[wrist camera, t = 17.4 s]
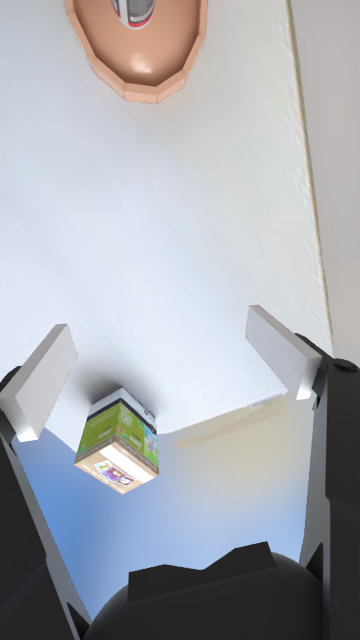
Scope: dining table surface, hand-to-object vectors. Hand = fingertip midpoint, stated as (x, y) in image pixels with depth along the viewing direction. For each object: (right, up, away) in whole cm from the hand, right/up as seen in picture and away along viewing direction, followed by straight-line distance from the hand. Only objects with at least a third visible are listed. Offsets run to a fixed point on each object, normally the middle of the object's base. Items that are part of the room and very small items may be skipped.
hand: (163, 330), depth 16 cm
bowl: (-4, +38, +10) cm, 40 cm away
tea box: (-13, -23, +40) cm, 48 cm away
